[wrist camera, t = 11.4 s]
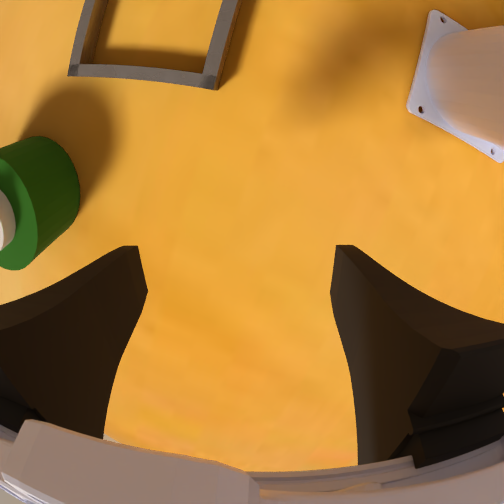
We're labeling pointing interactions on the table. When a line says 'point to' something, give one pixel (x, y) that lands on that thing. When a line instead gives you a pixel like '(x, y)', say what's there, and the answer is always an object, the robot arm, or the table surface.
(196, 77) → the c bracket
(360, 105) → the table surface
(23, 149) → the candle
